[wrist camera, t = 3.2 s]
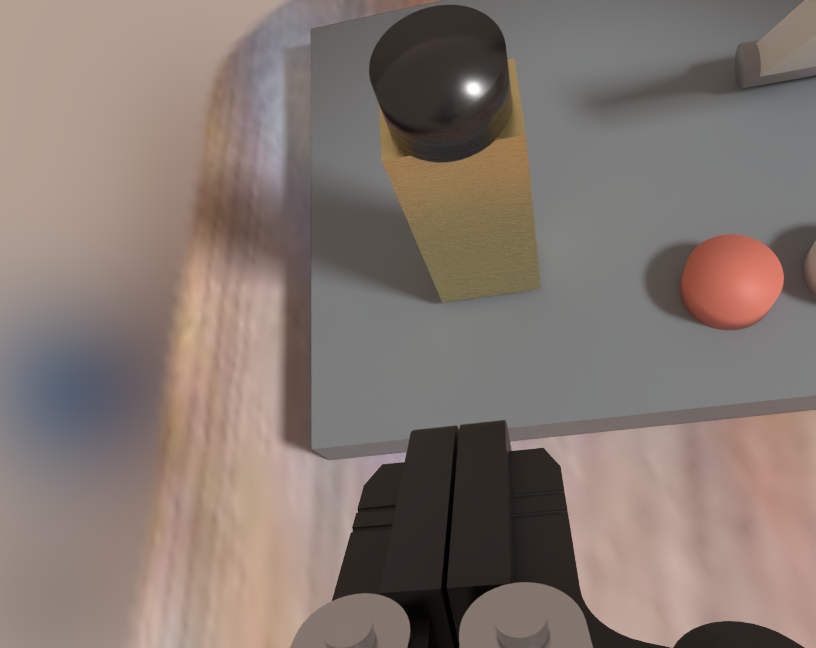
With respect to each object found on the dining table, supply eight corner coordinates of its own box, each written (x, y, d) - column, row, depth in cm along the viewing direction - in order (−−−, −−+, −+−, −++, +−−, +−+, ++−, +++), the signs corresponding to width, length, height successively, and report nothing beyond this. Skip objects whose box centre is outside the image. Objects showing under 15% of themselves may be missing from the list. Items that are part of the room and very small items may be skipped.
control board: (849, -51, 30) (878, -121, 28) (1035, 386, 23) (1102, 354, 20) (324, 59, 35) (301, 9, 32) (329, 459, 27) (299, 442, 24)
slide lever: (531, 221, 26) (506, -10, 16) (542, 299, 25) (523, 98, 15) (436, 236, 27) (358, 22, 17) (443, 313, 25) (362, 128, 16)
